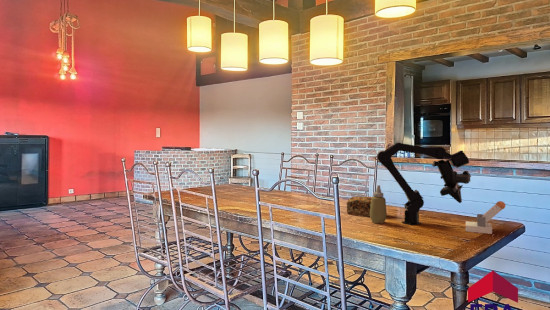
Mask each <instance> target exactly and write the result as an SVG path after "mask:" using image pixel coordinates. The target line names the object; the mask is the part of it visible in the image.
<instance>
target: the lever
mask: <svg viewBox="0 0 550 310" xmlns="http://www.w3.org/2000/svg"><path fill="white" fill-rule="evenodd" d="M505 208H506V202H504V201H501V200H499V201H497V202H496V203H495V204H494V205H493V206H492V207H491V208H490V209H488V210H487V211H486V212H485V213H483V215H482V216H481V217H485V224H486V223H488V222H489V221H491V220H492V219H493V218H495V216H497V215H498V214H499V213H500V212H502V210H504V209H505Z"/></svg>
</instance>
